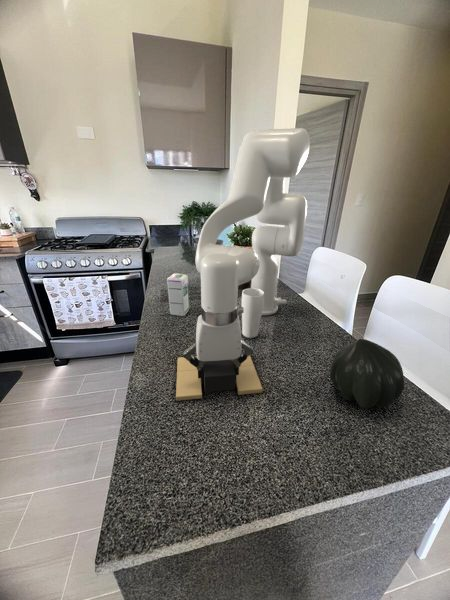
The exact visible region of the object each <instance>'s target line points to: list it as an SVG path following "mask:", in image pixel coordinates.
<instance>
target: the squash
mask: <svg viewBox="0 0 450 600" xmlns="http://www.w3.org/2000/svg"><path fill="white" fill-rule="evenodd" d="M329 377H330V381H331V383H332V384H333V385H334V386H335V387H336V388H337V389H338V391H339V392H340V394H341V395H342V397H343V398H344V399H345V400H346V401H348V402H355V401H356V403H357V405H358V406H359V407H360V408H362V409H366V410H368V409H371V408H372V407H374V406H376V407H379V408H388V407H389V406H390V405H391V404H392V403H393V402H394V401H396V400H397V399H399V398H400V396H401V395H402V393H403V391H404V388H405V379H404V371H403V367H402V364H401V362H400V361H399V359H398V358H397V356H396V355H395V354H394V353H393V352H392V351H390V350H389V349H387V348H386V347H383V346H382V345H379V344H378V343H375V342H374V341H372V340H369V339H367V338H366V339H365V338H362V337H361V338H359V339H356V340H354V341H353V342H351V343H349V344H347V345H345V346H343V347H342V348H340V349H339V350H338V351H337V352H336V354H335V355H334V356H333V359H332V363H331V366H330V368H329Z"/></svg>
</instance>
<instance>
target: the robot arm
mask: <svg viewBox="0 0 450 600" xmlns="http://www.w3.org/2000/svg"><path fill="white" fill-rule="evenodd" d="M310 143H311V139H310V135H309V132H308V131H307V129H306V128H302V127H300V128H299V127H297V128H296V127H295V128H294V127H293V128H268V129H256V130H252V131H250V132H248V133H246V134H245V135H244V136H243V139H242V143H241V144H240V146H239V149H238V153H237V156H236V161H235V166H234V170H233V174H232V179H231V183H230V188H229V192H228V197H227V198H226V200H225V201H224V202H223V203H221V204H220V205H219V206H218V207H217V208H215V210H214V211H213V212H212V213H211V214H210V216H208V218H207V219H206V221H205V222H204V224H203V225H202V227H201V230H200V233H199V237H198V242H197V246H196V250H195V256H194V257H195V259H194V261H195V262H194V263H195V268H196V270H197V272H198V274H200V300H201V302H200V308H201V309H200V310H201V311H200V313H201V314H200V315H198V317H197V319H196V327H195V328H196V329H195V342H194V343H193V344H191V345H190V346H189V347H188V348H186V349H185V350H183V352H182V357H184V358H185V359H186V360H188V361H189V362H190V363H191V364H192V365H193V366H195V367H196V368H197V370H198V378H201V385H202V384H203V385H204V364H205V363H206V361H219V360H231V359H232V364H233V368H234V371H235V374H236V375H239V367H240V366H241V363H243V362H244V361H245V360H246V359H247V357H248V356H249V355H250V356H251V355H252V354H253V352H254V349H253V347H252V346H251V345H249V344H248V343H247V342H245V341H244V340H242V326H241V321H240V317H239V315H240V314H242V313H243V312H244V309H243V307H241V306H239V305H238V296H239V294H238V293H239V288H238V286H239V285H241V284H244V283H246V282H249V281H250V280H251V279H252V280H251V284H250V288H255V289H260V290H262V291H263V292H264V303H263V309H262V315H261V316H269V315H270V316H271V315H274V314H276V313H277V312H278V310H279V305H287V302H288V301H287V299H282V298H281V297H276V293H277V286H278V285H277V284H278V275H279V263H278V261H277V259H276V257H275V256H283V257H284V256H285V257H297V256H299V255H300V254H301V252H302V250H303V245H304V240H305V239H304V237H305V229H306V221H307V213H308V201H307V199H306V197H305V196H304V195H303V194H301V193H290V192H289V193H287V192H285V181H286V178H288V179H289V178H293V177H296V176H297V175H298V174H299V172H300V171H301V169H302V168H303V166H304V164H305V163H306V161H307V158H308V155H309V152H310V147H311V146H310ZM254 216H256V219H257V220H258V222H260V223H262V224H265V225H260V226H257V227H256V228H254V230H253V231H252V234H251V248H247V247H240V246H232V245H225V244H223V245H216V241H217V239H219V237H220V235H221V234H222V232H223V231H224V230H226V229H227V228H229V227H230V226H232V225H233V224H236V223H239V222H241V221H244V220H246V219H248V218H249V219H250V218H251V217H254ZM242 350H243V351H242ZM195 353H196V355H193V354H195ZM195 356H197V358H196V357H195ZM236 375H235V381H236Z"/></svg>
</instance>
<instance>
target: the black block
mask: <svg viewBox="0 0 450 600" xmlns="http://www.w3.org/2000/svg"><path fill="white" fill-rule="evenodd" d="M235 375H236V374H235V371H234V368H233V364H232V359H231V360H219V361H206V363H205V364H204V383H203V386H204V389H203V390H204V393H211V392H221V391H233V390H235V389H236V384H235Z"/></svg>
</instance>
